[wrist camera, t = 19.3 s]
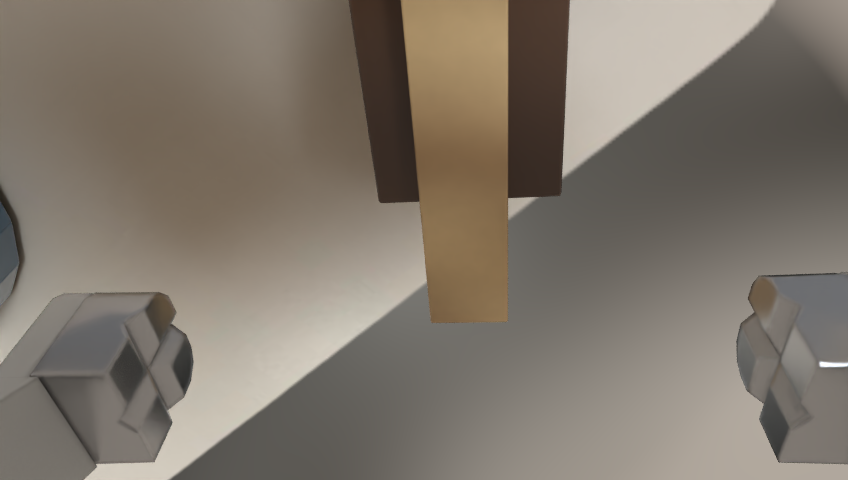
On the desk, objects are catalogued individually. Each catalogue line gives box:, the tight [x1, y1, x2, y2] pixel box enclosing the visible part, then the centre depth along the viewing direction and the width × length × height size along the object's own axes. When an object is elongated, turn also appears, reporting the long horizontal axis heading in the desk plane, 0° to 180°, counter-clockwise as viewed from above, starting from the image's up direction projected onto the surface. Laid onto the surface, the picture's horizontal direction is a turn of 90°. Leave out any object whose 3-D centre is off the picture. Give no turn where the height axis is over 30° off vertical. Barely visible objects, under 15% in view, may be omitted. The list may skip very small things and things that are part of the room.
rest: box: [348, 0, 570, 203], centre depth 21 cm, size 6×5×12 cm
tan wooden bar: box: [401, 0, 508, 323], centre depth 15 cm, size 12×2×1 cm, turn 4°
